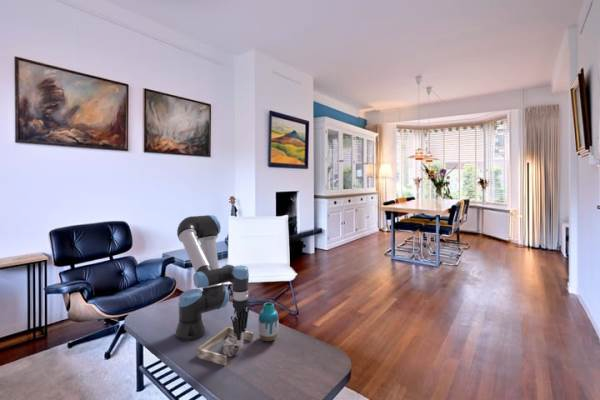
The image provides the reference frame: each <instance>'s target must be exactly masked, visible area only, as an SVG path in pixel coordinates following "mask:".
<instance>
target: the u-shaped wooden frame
mask: <svg viewBox="0 0 600 400" xmlns="http://www.w3.org/2000/svg"><path fill="white" fill-rule="evenodd" d="M229 335H234V336H235V337H236V338H237V334H235V333H234V330H233V326H228V325H227V327H225V328H224V329H222V330H221V331H220V332H218V333H217V334H215V335H214V336H213V337H211V338H210V339H209V340H207V341H206V342H204V343H203V344H201V345H200V346H199V347H197V348H196V357H197V358H198V357H199V359H201V360H205V361H209V362H212V363H215V364H219V365H222V366H225V367H226V366H227V365H228V355H227V354H222V353H219V352H215V351H211V349H213V347H215V346H217V344H219V343H220V342H221V341H222V340H224V339H225V338H227V337H228V336H229ZM244 340H246V341H251V342H253V341H254V332H253V331H248V330H246V331H245V332H244Z"/></svg>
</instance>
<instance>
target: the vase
mask: <svg viewBox="0 0 600 400" xmlns="http://www.w3.org/2000/svg"><path fill="white" fill-rule="evenodd" d="M278 335H279V313H278V311H277V310H276V309H275V304H274V303H273V302H269V301H268V302H265V303H263V307H262V310H260V312H259V313H258V336H259V338H260V339H261V340H262V341H264V342H272V341H274V340H275V339H276V338H277V337H278Z"/></svg>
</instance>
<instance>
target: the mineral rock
mask: <svg viewBox="0 0 600 400" xmlns="http://www.w3.org/2000/svg"><path fill="white" fill-rule="evenodd" d="M239 349H240V346H238V345H237V337H235V336H234V335H228V336H226V339H225V340H224V342H223V343H222V353H223V355H226V356H227V357H233V356H234V355H235V354H236V353H237V351H239Z"/></svg>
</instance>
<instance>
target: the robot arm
mask: <svg viewBox="0 0 600 400" xmlns="http://www.w3.org/2000/svg"><path fill="white" fill-rule="evenodd" d="M221 227H222V226H221V223H220V220H219V218H218V217H217V216H216V215H212V214H211V215H208V214H207V215H195V216H194V215H193V216H187V217H185V218H184V219H182V220H181V221H180V222H179V224H178V226H177V230H176V235H177V238H178V240H179V242H180V243H182V245H183V247H184V249H185V252H186V254H187V257H188V259H189V260H190V263H191V265H192V268H193V270H194V274H193V278H192V279H193V285H194V286H195V287H196V288H195V289H194V288H192V289H188V290H185V291H184V292H181V294H180V295H179V297H178V303H177V304H178V324H177V327H176V330H175V333H174V334H175V338H176V340H177V341H179V342H192V341H195V340H198V339H200V338H202V337H203V336H205V333H206V326H205V325H204V322H203V319H202V317H203V315H202V314H205V313H209V312H211V311H216V310H220V309H222V308H225V307H226V306H227V304H228V303H229V298H230V292H229V289H228V287H227V286H226V285H224V284H225V283H231V284H232V307H233V309H234V310H233V316H232V315H231V316H230V320H231V324H232V327H233V330H234V333H235V334H237V337H236V338H237V345H238V346H239V347H243V346H244V343H245V341H244V340H245V339H244V332H245V331H247V330H246V329H247V326H248V320H249V319H248V318H249V312H250V307H248V306H249V279H250V278H249V275H250V273H249V268H248V266H247V265H236V266H234V265H232V264H228V263H227V264H224V265H223V266H222V267H219V266H220V265H219V258H218V250H217V241H216V240H217V239H218V237H219V236H218V235H220V233H221V229H222V228H221ZM201 288H202V290H201Z"/></svg>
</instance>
